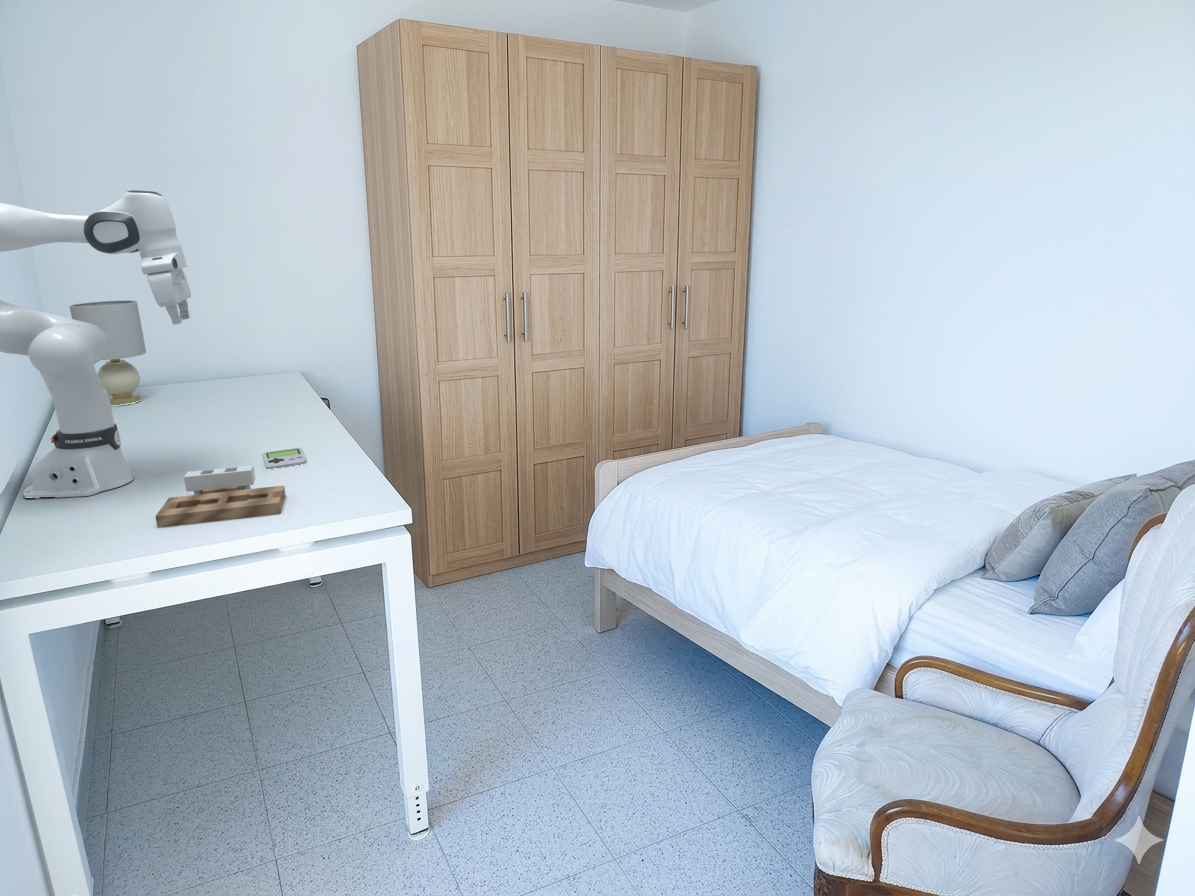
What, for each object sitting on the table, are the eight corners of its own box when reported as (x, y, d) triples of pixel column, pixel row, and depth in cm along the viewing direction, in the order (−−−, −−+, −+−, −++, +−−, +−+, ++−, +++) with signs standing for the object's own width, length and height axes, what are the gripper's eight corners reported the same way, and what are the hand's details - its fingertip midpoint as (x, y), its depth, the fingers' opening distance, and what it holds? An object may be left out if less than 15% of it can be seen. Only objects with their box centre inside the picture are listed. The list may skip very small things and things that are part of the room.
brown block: (204, 501, 178) (202, 491, 178) (209, 493, 184) (207, 483, 183) (237, 498, 180) (236, 487, 180) (241, 489, 186) (240, 479, 185)
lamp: (77, 408, 276) (54, 306, 266) (125, 395, 294) (106, 300, 284) (122, 410, 270) (101, 306, 260) (168, 398, 288) (150, 300, 278)
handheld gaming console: (265, 466, 200) (262, 451, 213) (266, 471, 201) (263, 457, 214) (307, 460, 204) (301, 446, 217) (308, 465, 205) (302, 451, 218)
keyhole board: (157, 527, 164) (155, 516, 163) (170, 508, 175) (168, 497, 174) (280, 513, 170) (278, 502, 169) (285, 495, 181) (284, 485, 180)
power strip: (188, 500, 178) (183, 476, 177) (191, 494, 182) (187, 471, 180) (254, 493, 182) (250, 469, 180) (256, 487, 186) (253, 464, 184)
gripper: (160, 262, 192) (177, 318, 196) (138, 267, 173) (157, 329, 177) (187, 258, 193) (204, 314, 198) (169, 262, 174) (187, 324, 179)
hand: (182, 321), depth 187 cm, fingers open, 8 cm apart
